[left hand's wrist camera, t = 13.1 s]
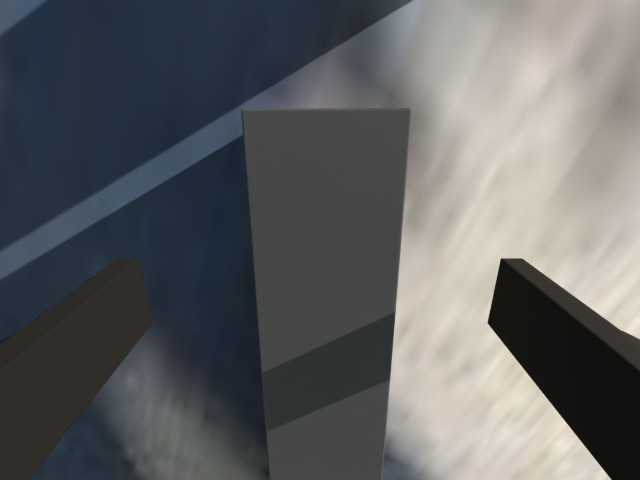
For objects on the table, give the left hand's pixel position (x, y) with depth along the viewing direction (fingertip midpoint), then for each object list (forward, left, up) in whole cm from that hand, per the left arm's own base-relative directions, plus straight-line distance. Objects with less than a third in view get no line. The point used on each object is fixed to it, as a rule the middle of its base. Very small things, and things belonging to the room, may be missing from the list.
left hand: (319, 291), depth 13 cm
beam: (+23, +5, -8) cm, 25 cm away
